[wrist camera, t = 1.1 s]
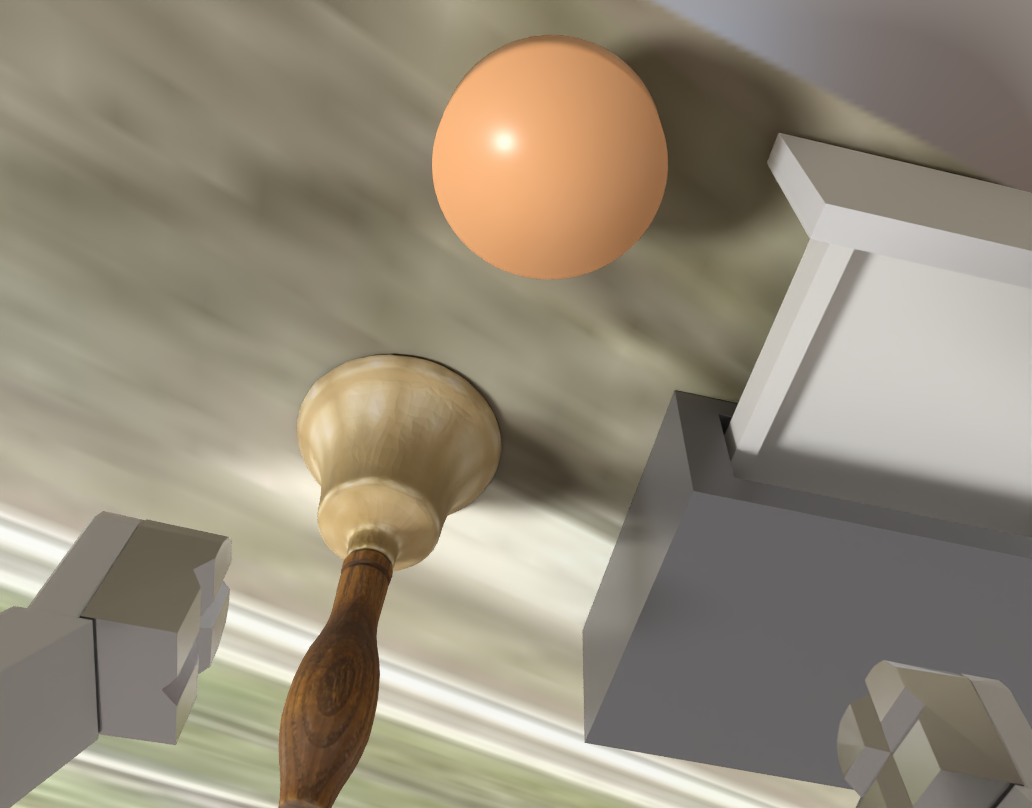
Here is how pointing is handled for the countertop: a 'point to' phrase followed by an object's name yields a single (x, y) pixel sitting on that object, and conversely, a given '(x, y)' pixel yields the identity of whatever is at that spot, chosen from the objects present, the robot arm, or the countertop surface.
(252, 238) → the countertop surface
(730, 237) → the countertop surface
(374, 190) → the countertop surface
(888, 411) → the white drawer
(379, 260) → the countertop surface
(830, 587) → the block
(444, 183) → the peach hemisphere
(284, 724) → the hand bell
